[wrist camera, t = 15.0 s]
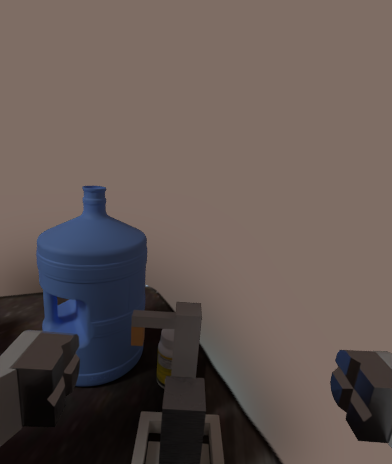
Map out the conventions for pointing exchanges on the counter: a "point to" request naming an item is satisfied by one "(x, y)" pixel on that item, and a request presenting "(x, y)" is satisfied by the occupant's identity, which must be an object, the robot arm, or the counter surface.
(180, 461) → the link block
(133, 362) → the water jug
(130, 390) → the counter surface
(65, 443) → the counter surface
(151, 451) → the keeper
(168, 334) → the supplement bottle
